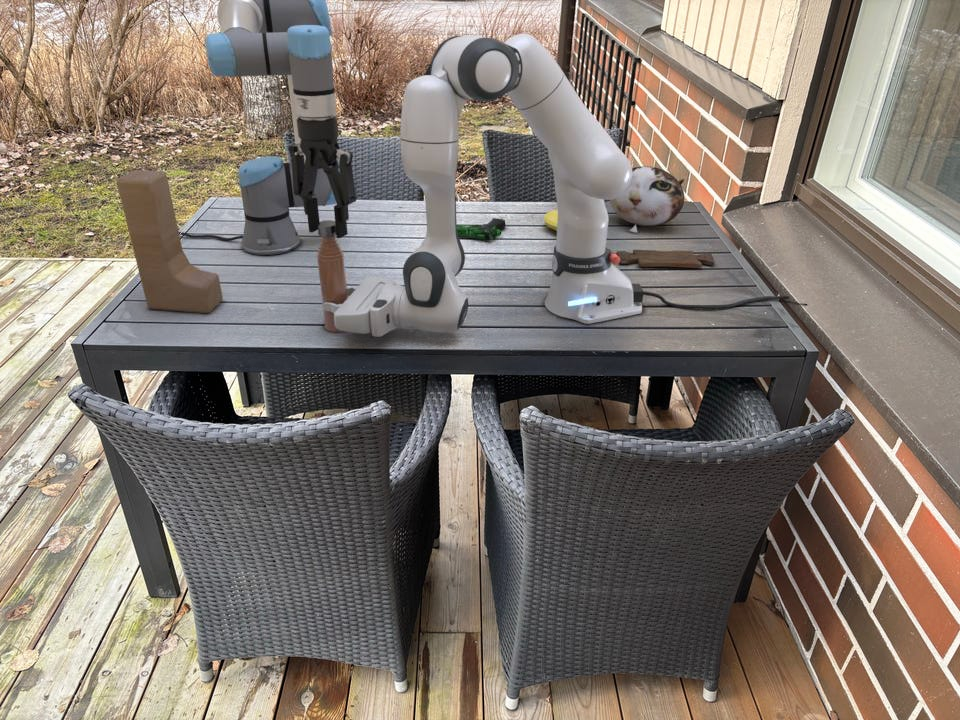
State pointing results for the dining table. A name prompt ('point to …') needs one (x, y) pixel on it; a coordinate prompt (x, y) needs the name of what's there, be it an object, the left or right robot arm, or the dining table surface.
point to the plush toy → (650, 198)
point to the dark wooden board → (665, 258)
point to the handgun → (482, 230)
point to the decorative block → (163, 247)
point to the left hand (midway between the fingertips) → (328, 232)
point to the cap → (327, 228)
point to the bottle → (331, 277)
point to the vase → (551, 219)
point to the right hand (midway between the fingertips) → (330, 298)
